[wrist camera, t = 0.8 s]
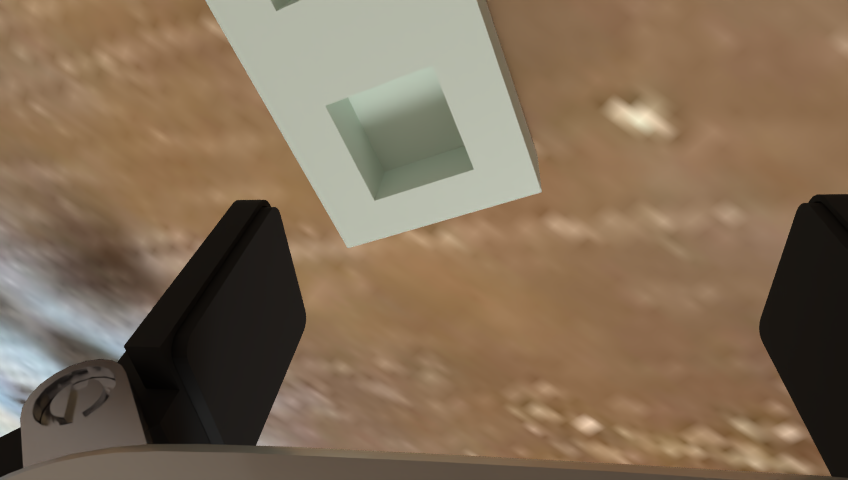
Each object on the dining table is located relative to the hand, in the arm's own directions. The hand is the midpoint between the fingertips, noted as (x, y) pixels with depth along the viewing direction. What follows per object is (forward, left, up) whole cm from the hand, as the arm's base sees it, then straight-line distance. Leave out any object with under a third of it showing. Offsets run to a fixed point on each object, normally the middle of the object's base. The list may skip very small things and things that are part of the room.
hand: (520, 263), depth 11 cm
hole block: (+7, -2, -23) cm, 24 cm away
